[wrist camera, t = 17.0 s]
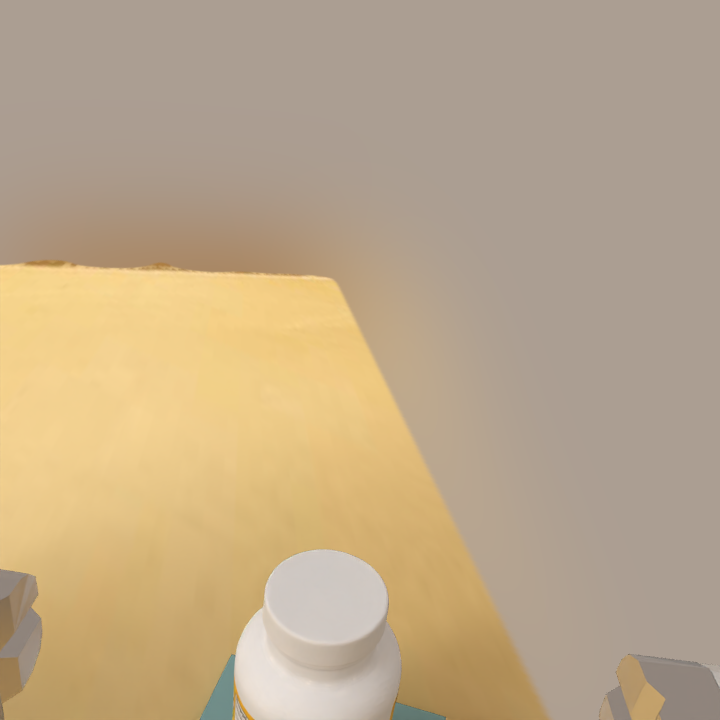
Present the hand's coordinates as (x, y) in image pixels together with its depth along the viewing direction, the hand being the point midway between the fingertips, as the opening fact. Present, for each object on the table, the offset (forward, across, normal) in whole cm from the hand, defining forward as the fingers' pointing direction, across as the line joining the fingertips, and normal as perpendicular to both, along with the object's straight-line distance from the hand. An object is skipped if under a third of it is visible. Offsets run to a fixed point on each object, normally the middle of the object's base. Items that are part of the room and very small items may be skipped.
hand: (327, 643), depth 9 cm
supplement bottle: (+12, 0, +24) cm, 27 cm away
